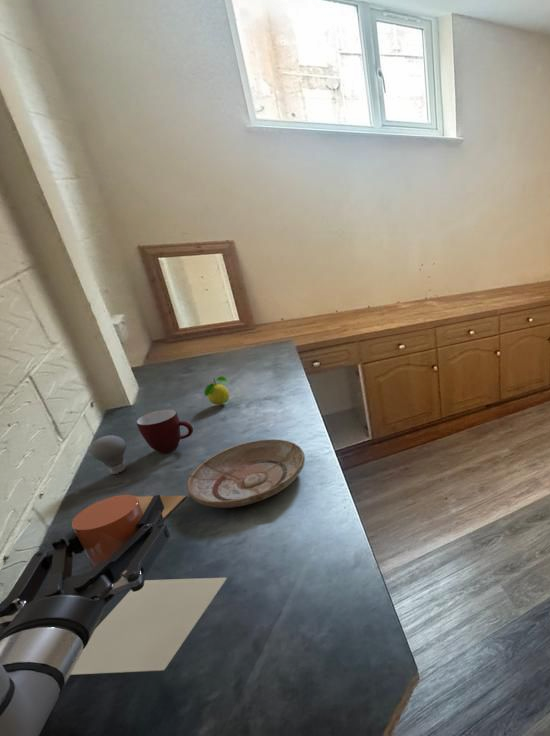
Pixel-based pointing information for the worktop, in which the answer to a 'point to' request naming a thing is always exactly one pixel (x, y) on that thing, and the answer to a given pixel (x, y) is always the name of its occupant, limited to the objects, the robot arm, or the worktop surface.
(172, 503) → the cork mat
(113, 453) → the light bulb
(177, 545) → the worktop surface
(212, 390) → the lemon
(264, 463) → the ceramic bowl
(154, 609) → the beige paper sheet
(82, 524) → the terracotta cylinder
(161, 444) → the mug
